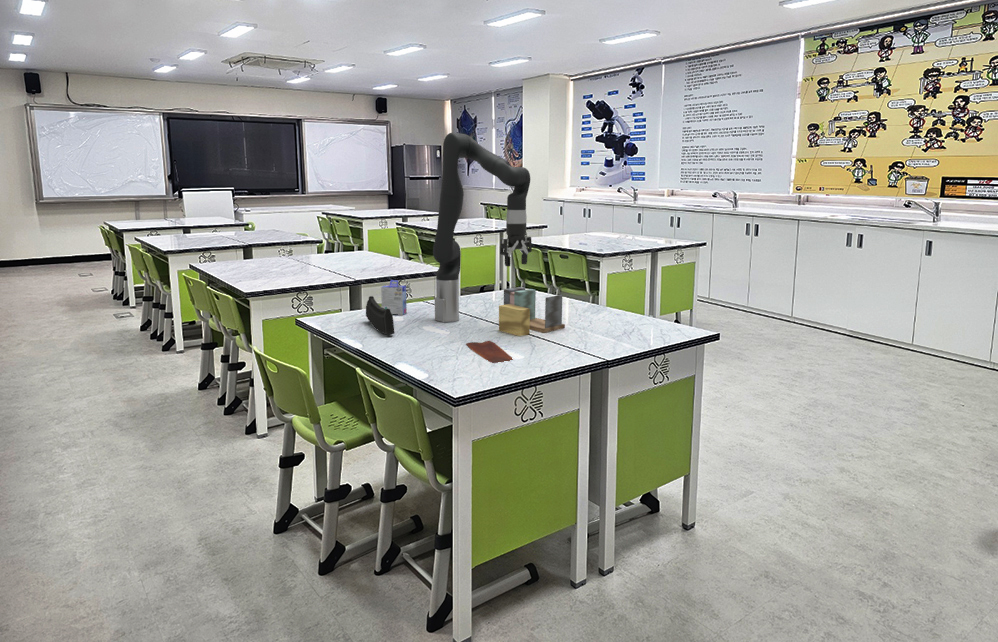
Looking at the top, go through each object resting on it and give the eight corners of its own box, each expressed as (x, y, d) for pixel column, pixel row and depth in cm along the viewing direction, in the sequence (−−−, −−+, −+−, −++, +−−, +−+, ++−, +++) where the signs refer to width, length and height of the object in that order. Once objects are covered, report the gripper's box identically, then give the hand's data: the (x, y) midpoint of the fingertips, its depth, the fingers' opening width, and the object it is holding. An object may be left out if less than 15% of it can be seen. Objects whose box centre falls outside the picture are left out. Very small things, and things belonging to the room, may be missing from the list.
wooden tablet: (464, 346, 246) (464, 341, 246) (490, 343, 250) (490, 339, 249) (488, 365, 222) (488, 360, 221) (517, 362, 225) (517, 357, 225)
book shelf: (543, 332, 263) (544, 298, 260) (500, 321, 282) (500, 289, 279) (564, 328, 271) (565, 294, 268) (521, 317, 289) (521, 286, 286)
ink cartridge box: (407, 312, 299) (406, 280, 295) (403, 315, 293) (402, 282, 290) (385, 312, 300) (384, 279, 297) (381, 314, 295) (380, 281, 292)
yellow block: (519, 336, 258) (520, 310, 256) (498, 330, 267) (498, 305, 265) (529, 334, 261) (529, 308, 259) (508, 328, 270) (508, 303, 268)
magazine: (396, 314, 252) (374, 280, 276) (387, 315, 251) (366, 280, 274) (393, 354, 260) (372, 317, 284) (385, 355, 259) (365, 318, 282)
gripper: (522, 220, 262) (522, 262, 266) (495, 222, 253) (495, 265, 257) (536, 221, 257) (536, 264, 261) (509, 223, 248) (509, 268, 251)
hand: (515, 265), depth 259 cm, fingers open, 8 cm apart
